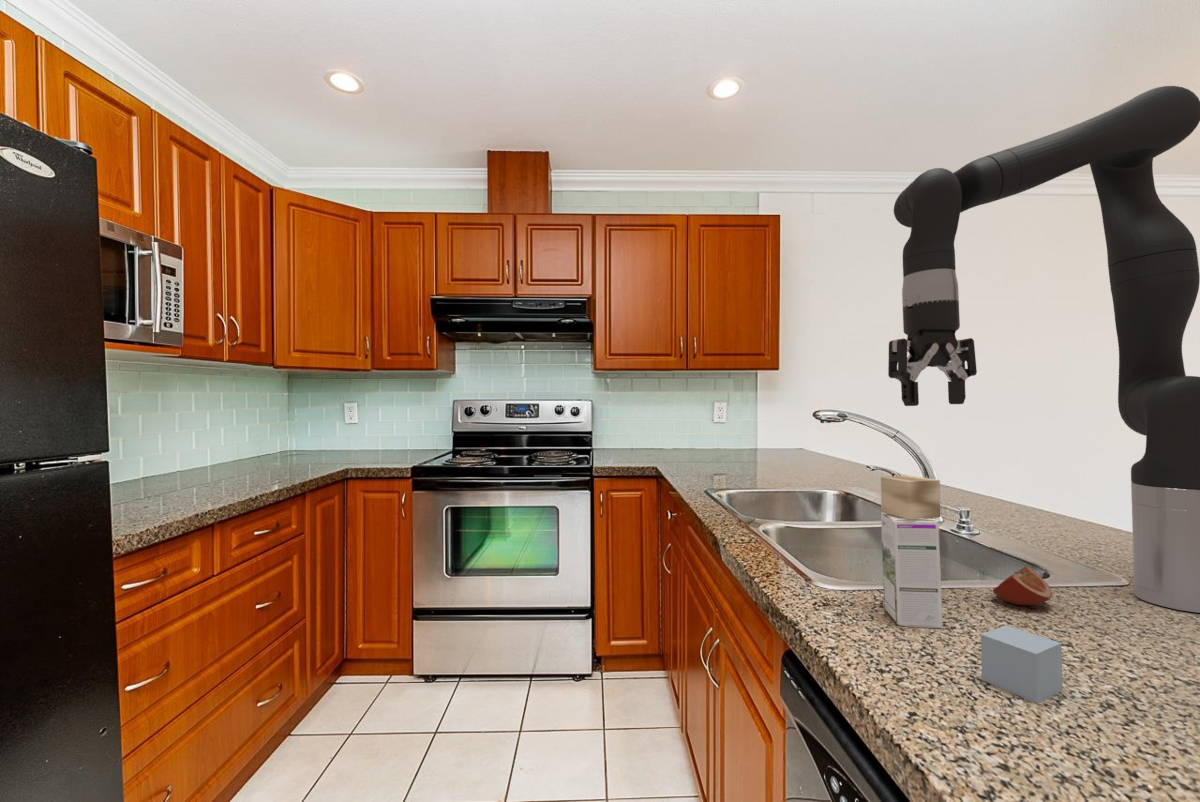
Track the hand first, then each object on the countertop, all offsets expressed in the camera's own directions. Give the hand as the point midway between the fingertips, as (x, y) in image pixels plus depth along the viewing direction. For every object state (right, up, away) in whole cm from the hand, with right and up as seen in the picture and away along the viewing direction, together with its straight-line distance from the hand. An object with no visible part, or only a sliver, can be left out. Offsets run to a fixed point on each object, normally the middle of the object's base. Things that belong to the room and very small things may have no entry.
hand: (934, 405), depth 82 cm
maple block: (-10, -15, -10) cm, 20 cm away
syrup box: (-9, -30, -10) cm, 33 cm away
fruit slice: (+10, -30, -5) cm, 32 cm away
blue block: (-8, -30, -27) cm, 41 cm away
